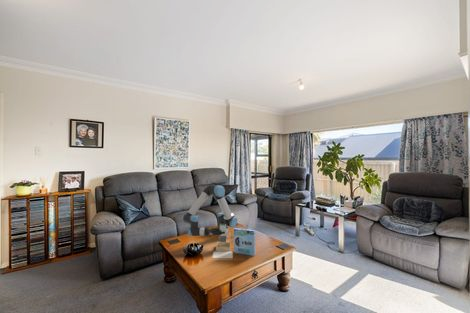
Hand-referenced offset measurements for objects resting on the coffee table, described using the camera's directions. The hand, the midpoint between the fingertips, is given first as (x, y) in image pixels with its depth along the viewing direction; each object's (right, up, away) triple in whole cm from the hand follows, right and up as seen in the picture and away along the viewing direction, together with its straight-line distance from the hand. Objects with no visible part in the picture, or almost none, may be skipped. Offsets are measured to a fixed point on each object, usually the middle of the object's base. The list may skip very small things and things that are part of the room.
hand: (228, 231), depth 201 cm
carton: (-5, -17, 0) cm, 18 cm away
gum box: (+15, -18, -9) cm, 25 cm away
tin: (-5, -9, 0) cm, 11 cm away
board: (-5, -18, -13) cm, 22 cm away
